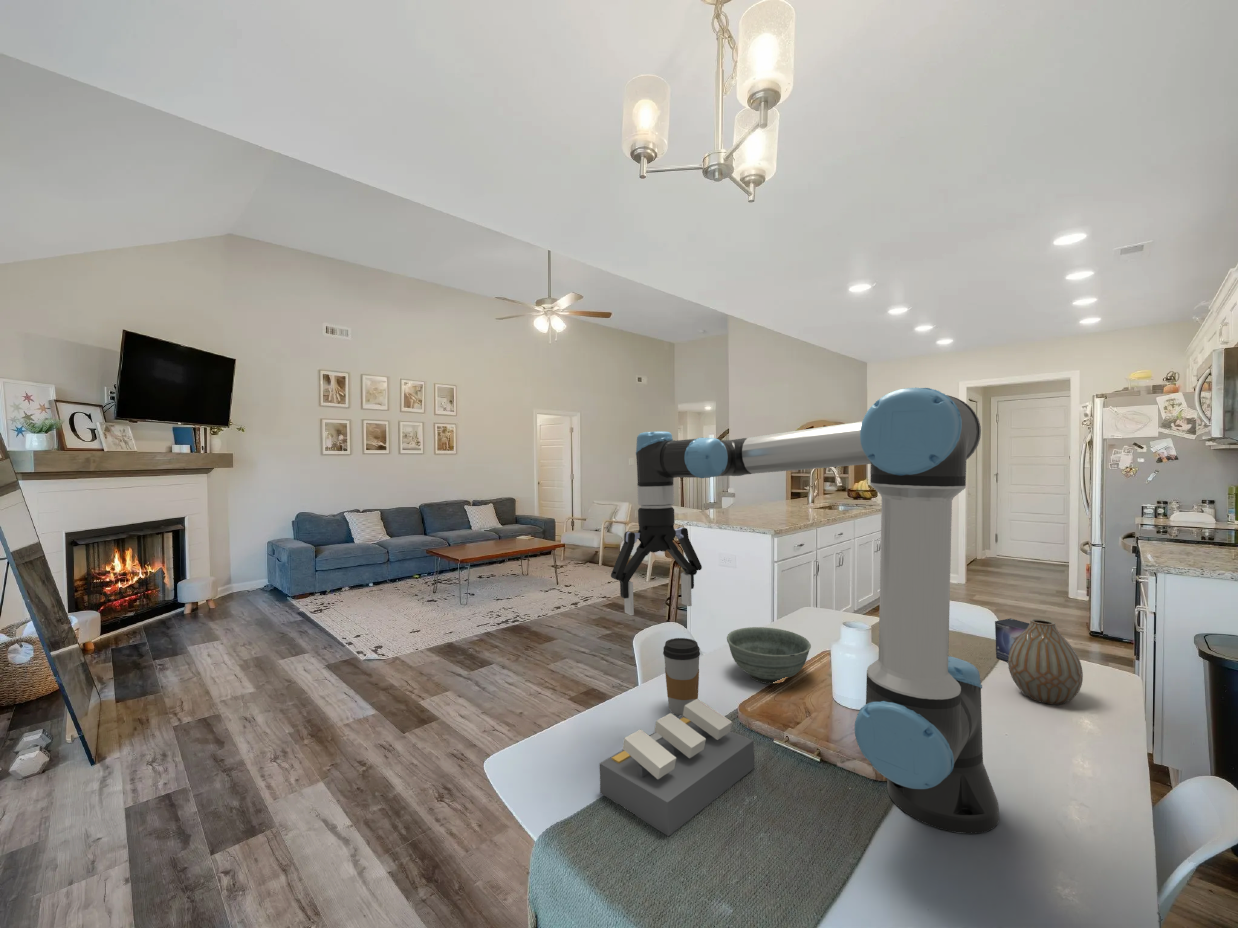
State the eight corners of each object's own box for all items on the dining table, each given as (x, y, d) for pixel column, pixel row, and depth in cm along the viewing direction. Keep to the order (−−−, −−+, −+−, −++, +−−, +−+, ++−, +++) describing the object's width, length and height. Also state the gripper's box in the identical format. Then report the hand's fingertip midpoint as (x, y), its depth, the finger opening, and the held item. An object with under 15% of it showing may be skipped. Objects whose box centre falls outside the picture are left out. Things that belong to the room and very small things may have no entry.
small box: (994, 658, 142) (992, 620, 142) (1011, 655, 144) (1010, 617, 144) (1035, 672, 132) (1033, 631, 132) (1053, 669, 134) (1051, 628, 134)
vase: (1097, 704, 114) (1094, 625, 114) (1060, 716, 109) (1058, 633, 110) (1031, 682, 126) (1029, 610, 127) (996, 692, 122) (993, 617, 122)
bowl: (737, 658, 147) (736, 622, 147) (815, 668, 138) (814, 631, 138) (718, 686, 129) (717, 646, 129) (807, 701, 119) (806, 657, 119)
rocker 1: (674, 768, 84) (676, 757, 83) (657, 779, 81) (659, 768, 80) (639, 739, 89) (640, 729, 89) (622, 748, 86) (624, 737, 86)
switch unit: (754, 767, 93) (753, 731, 94) (668, 836, 77) (667, 792, 77) (688, 738, 104) (687, 706, 104) (600, 792, 87) (599, 754, 87)
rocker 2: (703, 748, 89) (705, 738, 89) (689, 758, 86) (691, 747, 86) (669, 722, 95) (670, 712, 94) (654, 730, 92) (656, 720, 92)
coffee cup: (700, 720, 112) (699, 650, 112) (662, 717, 113) (660, 648, 113) (702, 702, 120) (700, 637, 120) (666, 700, 121) (664, 636, 122)
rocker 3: (730, 731, 95) (732, 721, 94) (717, 739, 92) (719, 729, 92) (695, 707, 100) (697, 698, 100) (682, 714, 97) (684, 705, 97)
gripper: (696, 502, 116) (699, 597, 116) (593, 508, 105) (596, 613, 105) (716, 504, 109) (719, 605, 109) (608, 511, 99) (611, 622, 98)
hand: (658, 609), depth 107 cm, fingers open, 13 cm apart
